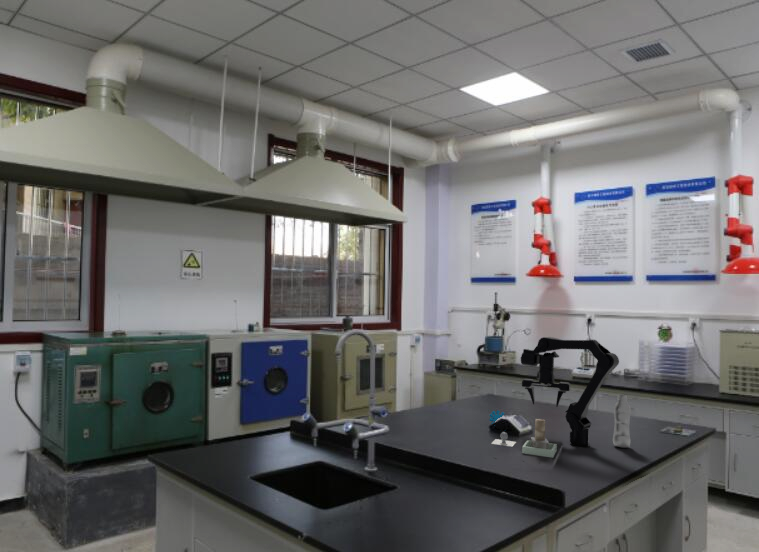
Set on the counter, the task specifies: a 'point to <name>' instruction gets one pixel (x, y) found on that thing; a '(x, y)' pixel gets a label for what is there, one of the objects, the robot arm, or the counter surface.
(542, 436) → the stamp
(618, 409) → the plastic bottle
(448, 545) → the counter surface
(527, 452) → the tray
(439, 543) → the counter surface
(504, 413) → the blue lobed toy
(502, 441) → the stud plate
